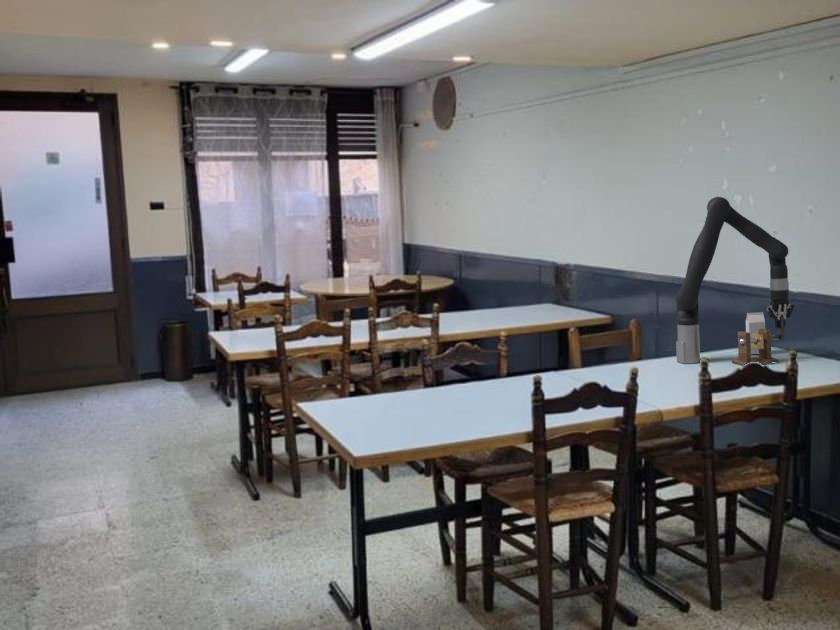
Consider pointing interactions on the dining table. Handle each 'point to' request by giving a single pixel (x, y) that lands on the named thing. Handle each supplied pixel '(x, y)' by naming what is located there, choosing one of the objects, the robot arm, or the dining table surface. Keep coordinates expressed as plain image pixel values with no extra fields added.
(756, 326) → the milk carton
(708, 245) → the robot arm
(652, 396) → the dining table surface
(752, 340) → the grey l-shaped piece
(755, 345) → the spacer
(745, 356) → the stand
